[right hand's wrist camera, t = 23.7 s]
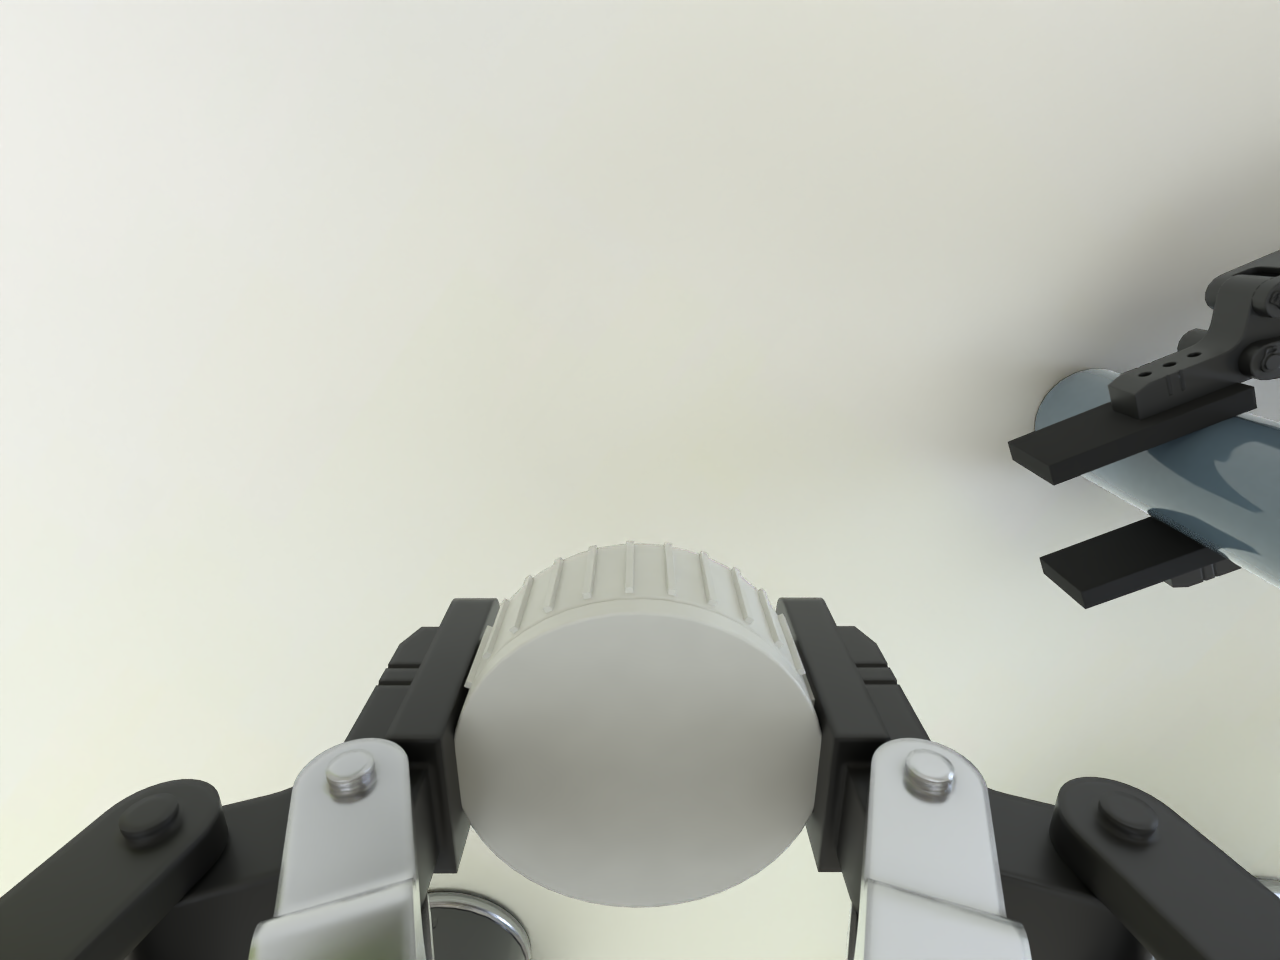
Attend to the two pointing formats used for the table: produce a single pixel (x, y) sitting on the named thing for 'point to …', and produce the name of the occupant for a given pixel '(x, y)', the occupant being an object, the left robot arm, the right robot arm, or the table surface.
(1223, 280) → the left robot arm
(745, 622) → the lid
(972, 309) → the table surface
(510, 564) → the table surface
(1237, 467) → the blue slim bottle
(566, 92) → the table surface
